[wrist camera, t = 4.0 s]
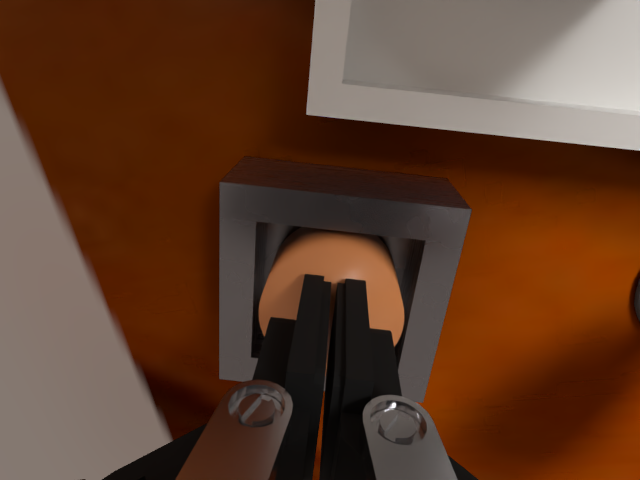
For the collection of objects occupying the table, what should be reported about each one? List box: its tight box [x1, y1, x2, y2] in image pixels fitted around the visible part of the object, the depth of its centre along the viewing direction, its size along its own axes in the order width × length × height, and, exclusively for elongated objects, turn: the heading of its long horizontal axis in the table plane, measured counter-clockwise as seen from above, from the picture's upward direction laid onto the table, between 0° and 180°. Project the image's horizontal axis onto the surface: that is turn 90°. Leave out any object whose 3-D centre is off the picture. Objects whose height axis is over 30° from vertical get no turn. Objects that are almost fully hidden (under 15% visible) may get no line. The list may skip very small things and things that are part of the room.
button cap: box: [259, 227, 404, 376], centre depth 13 cm, size 4×4×2 cm
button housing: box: [219, 157, 472, 403], centre depth 14 cm, size 7×7×3 cm
